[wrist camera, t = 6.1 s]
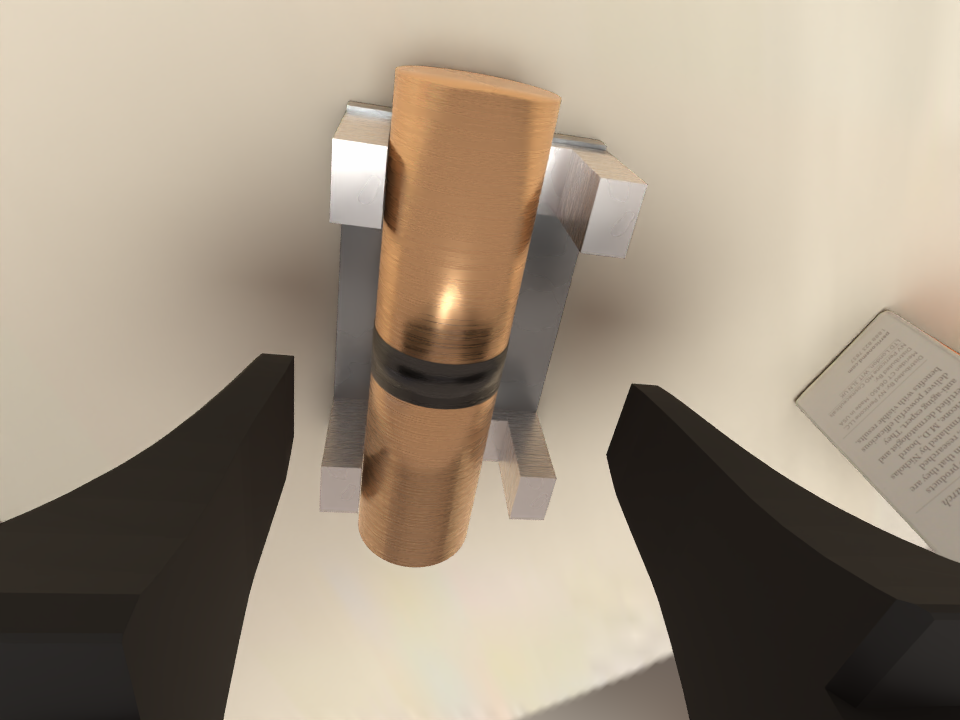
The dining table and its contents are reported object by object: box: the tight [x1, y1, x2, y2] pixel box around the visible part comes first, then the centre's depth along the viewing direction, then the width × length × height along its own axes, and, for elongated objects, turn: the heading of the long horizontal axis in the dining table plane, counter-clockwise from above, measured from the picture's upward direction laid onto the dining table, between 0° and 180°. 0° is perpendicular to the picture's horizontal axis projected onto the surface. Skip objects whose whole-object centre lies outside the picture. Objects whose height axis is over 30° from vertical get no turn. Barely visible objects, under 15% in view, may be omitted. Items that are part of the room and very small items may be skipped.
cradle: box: [320, 101, 648, 520], centre depth 15 cm, size 6×10×4 cm, turn 170°
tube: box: [358, 66, 561, 567], centre depth 14 cm, size 12×3×3 cm, turn 171°
